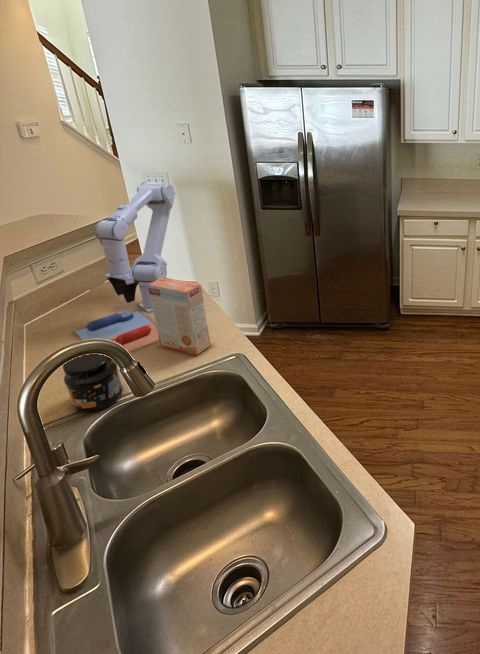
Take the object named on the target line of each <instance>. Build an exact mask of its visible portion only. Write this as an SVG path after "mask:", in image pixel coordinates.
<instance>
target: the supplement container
mask: <svg viewBox="0 0 480 654" xmlns="http://www.w3.org/2000/svg"><path fill="white" fill-rule="evenodd" d="M117 364H118V363H117V362H116V360H114V358H113V359H111V358H109V357H107V356H104V355H99V354H89V355H83V356H81V357H77V358H75V359H73V360H71V361H69V362H67V363H66V364H64V363H63V365H62V369H63V373H64V377H63V382H64V384H65V386H66V389H67V392H68V395H69V398H70V401H71V406H72V407H73V408H72V409H74V410H76V411H77V412H80V413H93V412H97V411H100V410H103V409H106V408H107V407H109V406H111V405H113V404H114V403H115V402H117V401H118V400H119V399H120V398H121V396H122V395H123V390H124V389H123V385H122V382H121V377H120V374H119V369H118V365H117Z"/></svg>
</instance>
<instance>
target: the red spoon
mask: <svg viewBox="0 0 480 654" xmlns="http://www.w3.org/2000/svg"><path fill="white" fill-rule="evenodd" d="M150 332H151V328H150V327H149V326H143V327H140V328H138V329H135V330H132V331H129V332H127V333H124V334H121V335H119V336H117V337H116V338H113V339H109V340H112V341H115V342H117V343H119V344H121V345H122V344H124V343H126V342H129V341H132V340H134V339H137V338H139V337H142V336H145V335H147V334H149V333H150Z"/></svg>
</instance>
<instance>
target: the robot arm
mask: <svg viewBox="0 0 480 654" xmlns="http://www.w3.org/2000/svg"><path fill="white" fill-rule="evenodd" d="M175 197H176V191H175V189H174V186H173V184H171V183H170V182H165V183H164V182H148V181H141V182H140V184H139V185H138V186H136V193H135V194H134V195H133V197H132V198H131V199H130V201H129V202H128V203H127V204H122V205H119V206H117V208H116V210H114V212H112V214H110V215H109V216H108V218H106V219H105V220H100V221H98V222H97V224H96V225H95V226H94V232H93V234H94V236H95V238H96V239H97V240H98V241H99V244H100V245H101V246H102V249H103V252H104V257H105V262H106V266H107V270H108V273H105V274H104V277H105V278H106V279H107V280H108V281H109V283H110V285H111V286H112V288H113V290H114V292H115V294H116V295H117V296H122V295H123V298H124V300H125V302H126V303H127V304H130V303H133V302H135V301H136V292H137V291H136V290H137V288H138V287H139V293H140V295H141V296H140V297H141V300H142V302H140V303H139V304H138V306H139V307H141V308H142V309H143V310H144V311H146V312H147V313H150V312H153V308H152V303H151V298H150V293H149V289H148V284H150V283H152V282H154V281H156V280H158V279H160V278H163V277H165V278H167V275H168V270H167V268H168V267H167V266H168V263H167V262H166V260H165V259H164V258H162V251H163V247H164V242H165V238H166V232H167V228H168V223H169V220H170V219H169V218H170V214H171V210H172V209H173V206H174V203H175ZM145 206H146V207H147V208H148V209H150V210H151V218H150V222H149V227H148V231H147V235H146V240H145V244H144V249H143V253H142V254H141V255H140V256H138V257H136V258H135V259H134V263H133V265H132V266H131V264H130V259H129V255H128V251H127V246H126V241H125V239H126V238H127V235H128V231H129V229H130V226H131V225H132V224H133V223H134V222H135V221H136V220H137V219H138V217H139V216H138V212H139V211H140V210H142V209H143V208H144V207H145Z"/></svg>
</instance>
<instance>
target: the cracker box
mask: <svg viewBox="0 0 480 654" xmlns="http://www.w3.org/2000/svg"><path fill="white" fill-rule="evenodd" d="M148 289H149V293H150V298H151V303H152V308H153V311H152V312H153V317H154V320H155V325H156V327H157V332H158V336H159V340H158V341H159V345H160V347H163V348H165V349H170V350H174V351H179V352H182V353H186V354H190V355H195V356H199V355H200V354H201V353H203V352H204V351H206V350H207V349H208V348H210V347H211V340H210V334H209V333H210V332H209V327H208V320H207V315H206V308H205V303H204V295H203V290H202V284H201V283H196V282H190V281H185V280H180V279H175V278H169V277H166V278H165V277H163V278H160V279H158V280H156V281H154V282H152V283H150V284H148Z"/></svg>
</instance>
